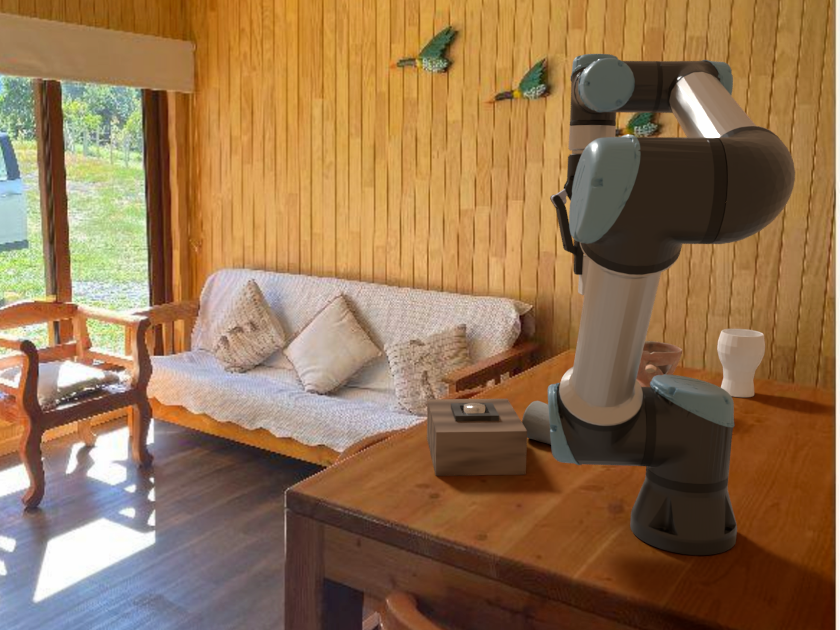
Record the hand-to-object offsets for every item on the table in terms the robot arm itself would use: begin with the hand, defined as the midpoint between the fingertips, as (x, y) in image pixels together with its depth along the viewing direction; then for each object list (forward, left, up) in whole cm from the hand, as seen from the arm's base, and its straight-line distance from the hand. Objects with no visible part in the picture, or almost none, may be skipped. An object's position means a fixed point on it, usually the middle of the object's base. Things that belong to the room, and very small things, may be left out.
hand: (584, 293), depth 140 cm
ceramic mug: (+18, 0, -33) cm, 37 cm away
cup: (+50, -53, -33) cm, 79 cm away
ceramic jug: (+40, -27, -33) cm, 59 cm away
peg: (+10, +17, -31) cm, 37 cm away
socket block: (+10, +17, -32) cm, 38 cm away
